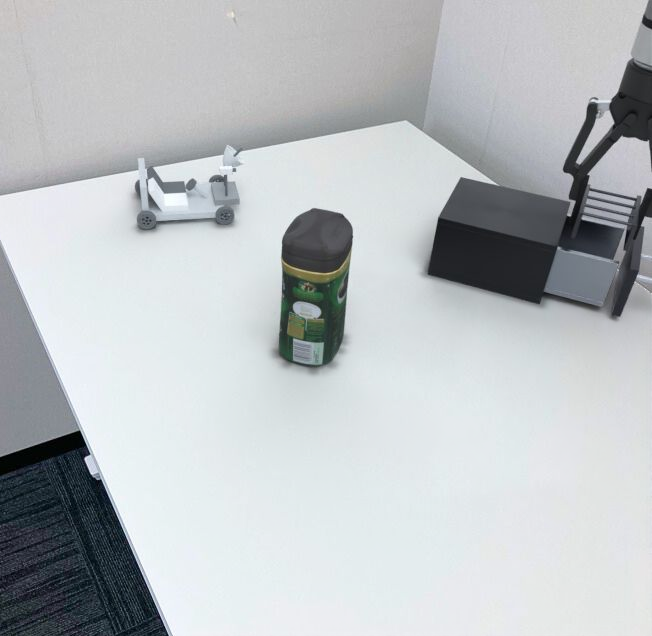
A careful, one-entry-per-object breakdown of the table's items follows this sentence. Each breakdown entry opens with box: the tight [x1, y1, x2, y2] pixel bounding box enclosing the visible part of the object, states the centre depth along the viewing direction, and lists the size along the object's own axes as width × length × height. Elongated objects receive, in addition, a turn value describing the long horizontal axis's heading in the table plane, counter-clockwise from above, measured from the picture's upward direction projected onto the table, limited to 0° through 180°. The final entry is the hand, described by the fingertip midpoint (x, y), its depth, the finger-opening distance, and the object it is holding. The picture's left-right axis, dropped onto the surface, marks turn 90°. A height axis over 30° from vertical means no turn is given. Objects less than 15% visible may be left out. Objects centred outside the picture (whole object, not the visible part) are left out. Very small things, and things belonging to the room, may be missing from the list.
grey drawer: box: [543, 212, 652, 318], centre depth 108 cm, size 20×13×8 cm, turn 67°
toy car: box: [134, 144, 245, 230], centre depth 121 cm, size 18×10×12 cm
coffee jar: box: [278, 207, 354, 367], centre depth 93 cm, size 10×8×19 cm
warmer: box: [427, 176, 571, 305], centre depth 112 cm, size 17×14×10 cm
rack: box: [571, 183, 643, 252], centre depth 104 cm, size 8×9×4 cm
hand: (602, 227), depth 105 cm, fingers closed on rack, 8 cm apart
